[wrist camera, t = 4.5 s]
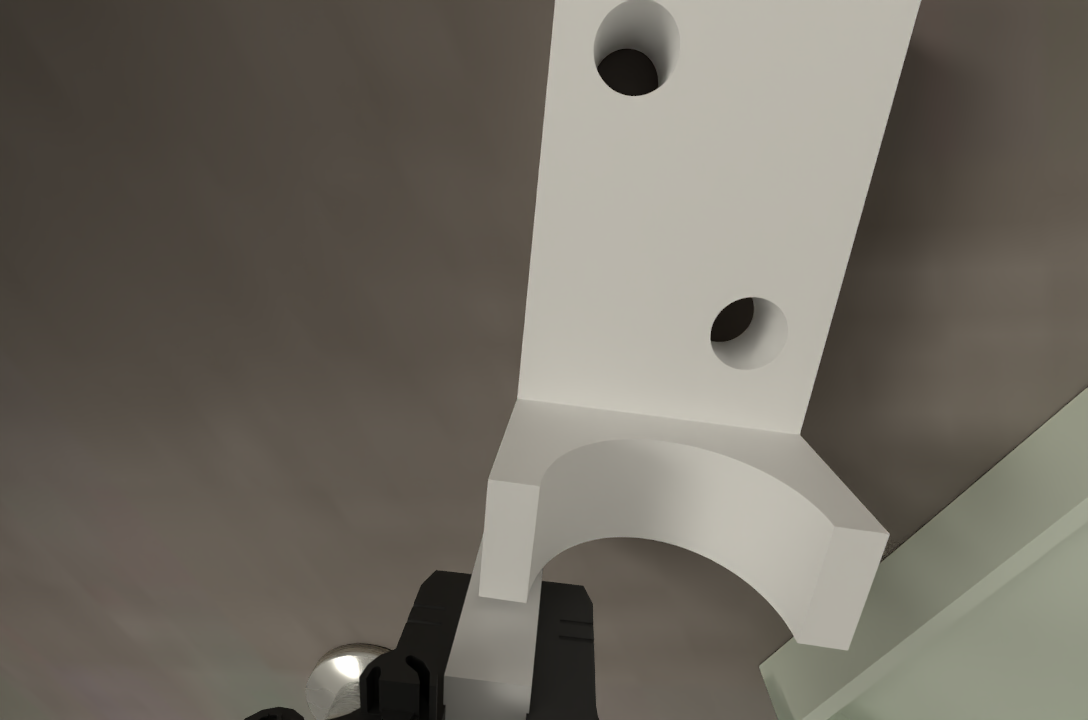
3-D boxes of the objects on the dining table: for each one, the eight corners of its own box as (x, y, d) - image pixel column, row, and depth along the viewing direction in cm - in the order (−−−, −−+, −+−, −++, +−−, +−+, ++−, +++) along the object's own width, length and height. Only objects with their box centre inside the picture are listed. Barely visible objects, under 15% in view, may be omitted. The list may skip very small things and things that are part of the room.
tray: (758, 666, 20) (782, 733, 17) (1129, 351, 15) (1235, 382, 13) (978, 808, 21) (1030, 890, 19) (1382, 558, 16) (1523, 623, 14)
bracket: (737, 459, 17) (847, 650, 10) (524, 431, 17) (478, 596, 10) (848, 2, 13) (1170, -243, 6) (570, -23, 13) (549, -283, 6)
